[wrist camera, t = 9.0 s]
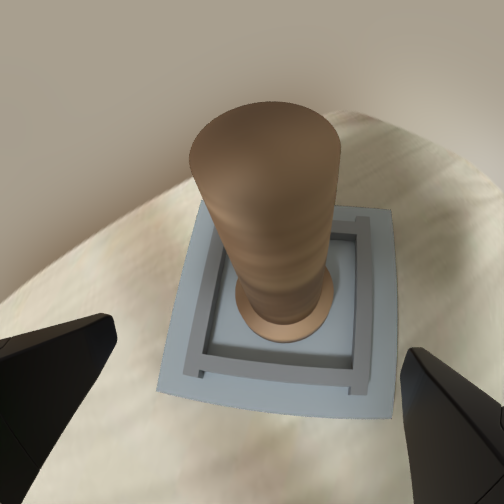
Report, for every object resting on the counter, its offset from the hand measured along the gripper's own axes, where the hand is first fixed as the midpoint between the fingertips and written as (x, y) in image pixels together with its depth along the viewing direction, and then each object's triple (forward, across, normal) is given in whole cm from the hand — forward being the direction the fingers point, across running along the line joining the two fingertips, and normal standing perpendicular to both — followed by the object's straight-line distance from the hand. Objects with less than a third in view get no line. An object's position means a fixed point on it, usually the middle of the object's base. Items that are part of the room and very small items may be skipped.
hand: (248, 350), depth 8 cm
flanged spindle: (+11, 0, +4) cm, 12 cm away
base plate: (+12, 0, +4) cm, 13 cm away
